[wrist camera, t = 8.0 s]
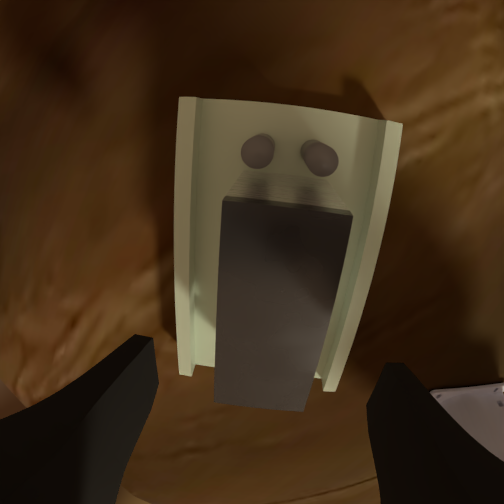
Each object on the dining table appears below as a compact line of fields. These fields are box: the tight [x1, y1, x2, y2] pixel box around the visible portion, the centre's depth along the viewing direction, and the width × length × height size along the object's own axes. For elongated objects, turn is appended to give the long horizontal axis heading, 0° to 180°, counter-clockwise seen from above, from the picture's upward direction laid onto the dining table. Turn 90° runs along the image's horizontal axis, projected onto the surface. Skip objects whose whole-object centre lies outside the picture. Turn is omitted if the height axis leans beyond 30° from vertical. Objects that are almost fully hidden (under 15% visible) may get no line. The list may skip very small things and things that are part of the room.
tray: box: [174, 97, 403, 392], centre depth 16 cm, size 10×16×4 cm, turn 175°
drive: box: [214, 170, 353, 412], centre depth 14 cm, size 4×9×6 cm, turn 175°
